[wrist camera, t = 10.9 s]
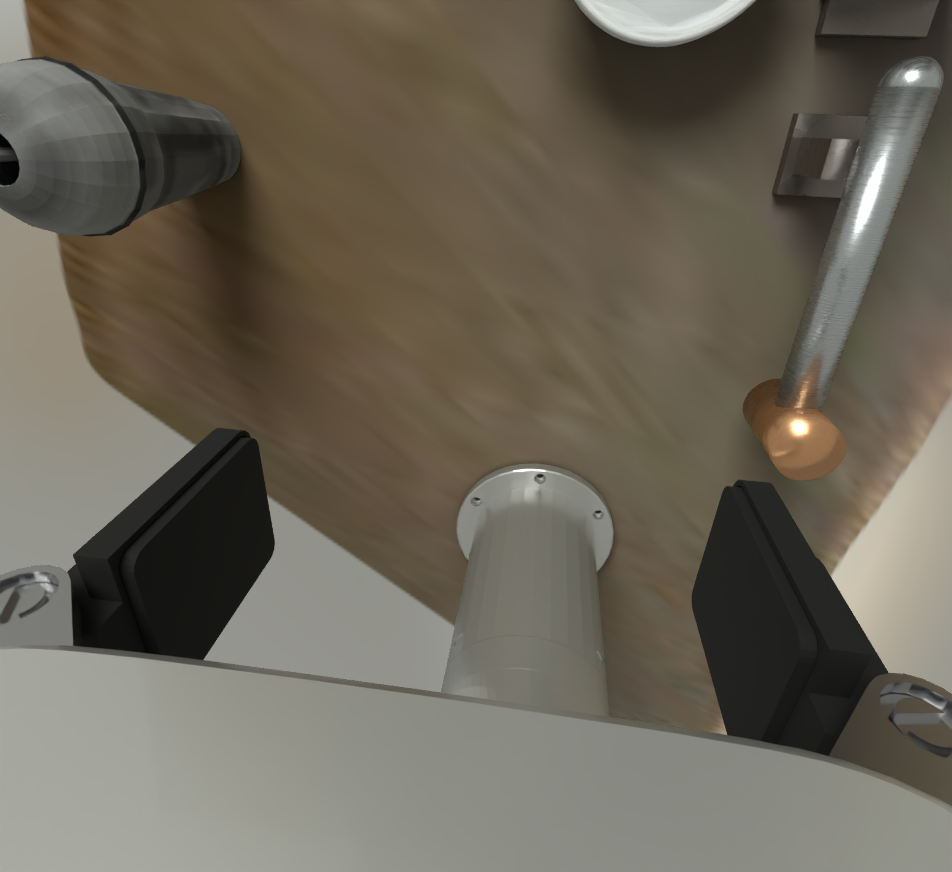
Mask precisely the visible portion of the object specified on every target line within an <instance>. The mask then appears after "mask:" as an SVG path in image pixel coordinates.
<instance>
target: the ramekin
mask: <svg viewBox="0 0 952 872" xmlns="http://www.w3.org/2000/svg"><path fill="white" fill-rule="evenodd" d="M755 1H756V0H575V2H576V3H577V5H578V6H579V8H580V9H581V10H582V12H583V13H584V14H585V15H586V16H587V17H588V18H589V19H590V20H591V21H592V22H593V23H594V24H596V25H597V26H598V27H599V28H601V29H602V30H603V31H605V32H607V33H608V34H610V35H612V36H614V37H616V38H618V39H620V40H623V41H626V42H628V43H632V44H636V45H642V46H650V47H668V46H675V45H680V44H684V43H688V42H691V41H694V40H696V39H699V38H701V37H703V36H706V35H708V34H710V33H712V32H714V31H716V30H718V29H719V28H721V27H723V26H724V25H726V24H728V23H729V22H731V21H732V20H733V19H735V18H736V17H737V16H739V15H740V14H741V13H743V12H744V11H745V10H746V9H747V8H748V7H749V6H751V5H752V4H753V3H754V2H755Z"/></svg>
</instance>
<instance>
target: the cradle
mask: <svg viewBox="0 0 952 872" xmlns="http://www.w3.org/2000/svg"><path fill="white" fill-rule="evenodd" d="M867 117H868V116H847V115H823V114H793V118H792V121H791V125H790V129H789V133H788V136H787V140H786V144H785V147H784V151H783V155H782V158H781V162H780V166H779V169H778V173H777V177H776V180H775V184H774V188H773V191H772V193H774V194H778V195H797V196H815V197H833V198H841V196H842V193H843V190H844V187H845V184H846V181H847V178H848V175H849V172H850V169H851V166H852V163H853V160H854V157H855V153H856V150H857V147H858V144H859V141H860V138H861V135H862V132H863V129H864V126H865V123H866V120H867Z"/></svg>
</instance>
